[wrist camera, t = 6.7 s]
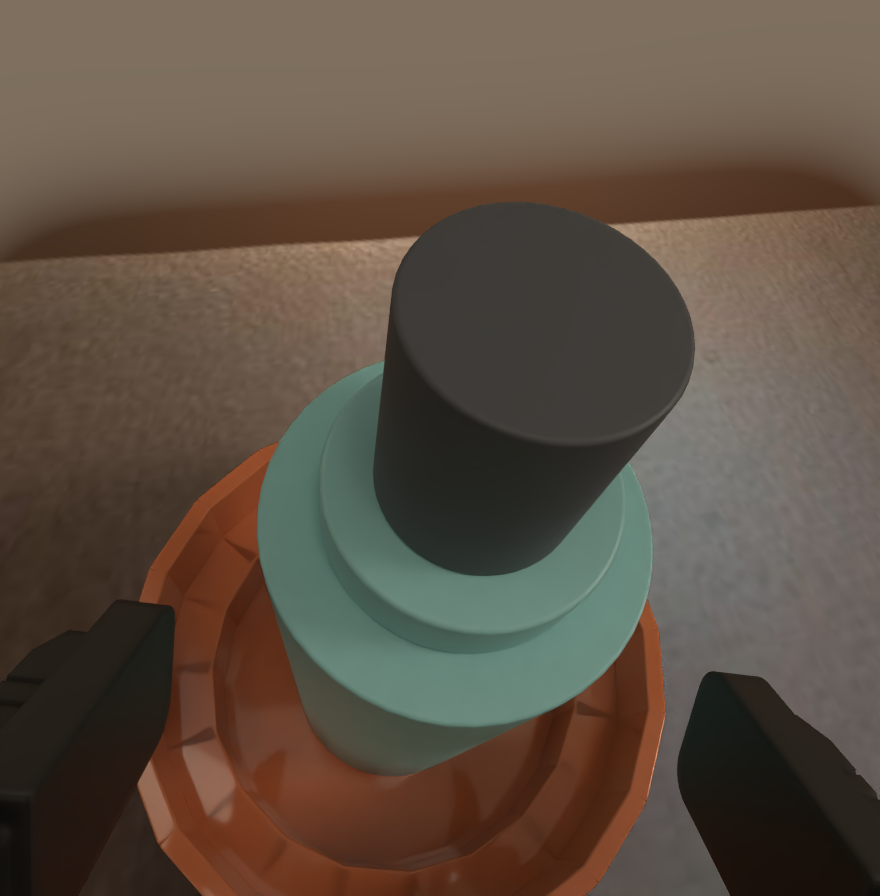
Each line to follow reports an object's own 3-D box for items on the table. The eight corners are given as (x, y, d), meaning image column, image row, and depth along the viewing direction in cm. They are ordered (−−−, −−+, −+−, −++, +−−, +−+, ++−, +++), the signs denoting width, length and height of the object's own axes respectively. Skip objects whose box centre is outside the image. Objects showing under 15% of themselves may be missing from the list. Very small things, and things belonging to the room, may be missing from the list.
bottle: (282, 766, 19) (87, 594, 4) (317, 571, 22) (278, 54, 7) (481, 785, 20) (960, 696, 5) (490, 592, 23) (799, 151, 8)
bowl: (103, 917, 18) (28, 951, 13) (228, 460, 25) (205, 384, 20) (608, 957, 19) (690, 1000, 14) (592, 509, 26) (644, 447, 21)
